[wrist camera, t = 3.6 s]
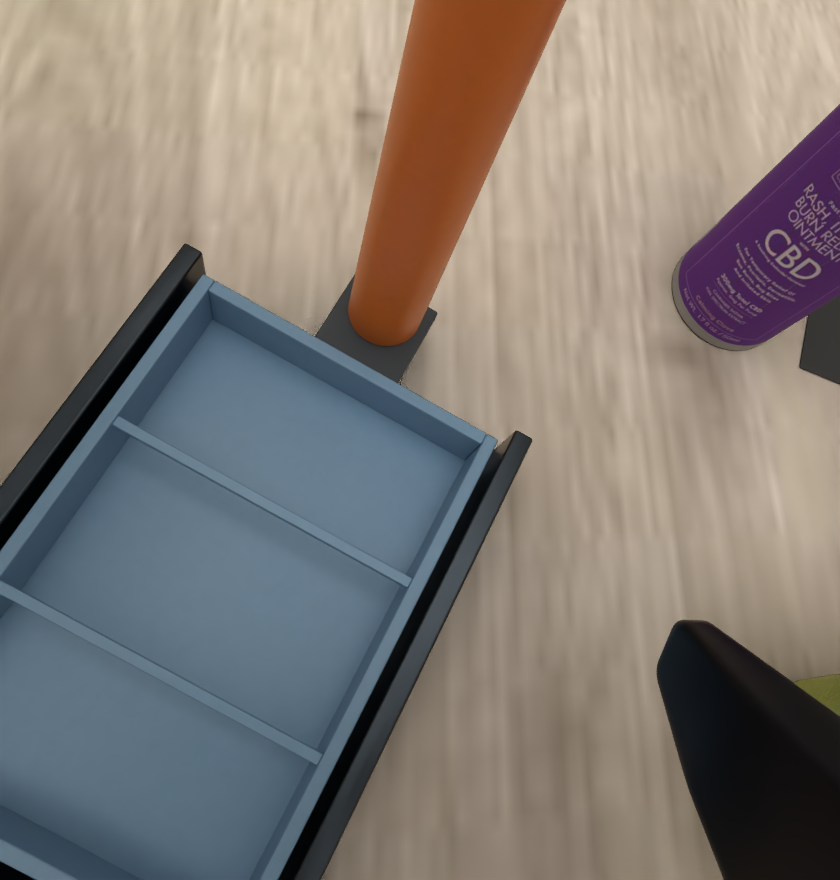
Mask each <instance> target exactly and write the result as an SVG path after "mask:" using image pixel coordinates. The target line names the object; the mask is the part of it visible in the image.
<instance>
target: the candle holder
mask: <svg viewBox="0 0 840 880" xmlns="http://www.w3.org/2000/svg"><path fill="white" fill-rule="evenodd" d="M800 368H802V369H805V370H807V371H810V372H812V373H814V374H817V375H819V376H822V377H824V378H826V379H829V380H831V381H834V382H836V383H838V384H840V295H839V296H837V297H836V298H834V299H832V300H831V301H829V302H828V303H826V304H824V305H823V306H821V307H820V308H818V309H816V310H815V311H813V312H812V313H810V314H809V317H808V322H807V328H806V334H805V340H804V346H803V352H802V358H801V364H800Z"/></svg>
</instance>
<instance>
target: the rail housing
mask: <svg viewBox="0 0 840 880" xmlns="http://www.w3.org/2000/svg"><path fill="white" fill-rule="evenodd" d="M203 274H204V275H206V273H205V267H204V262H203V256H202V253H201V252H200V251H198V250H197V249H195V248H193V247H191V246H190V245H188V244H184V245H183V246H182V248H181V249H180V250H179V252H178V253H177V254H176V256H175V257H174V258H173V260H172V261H171V262H170V264H169V265H168V266H167V268H166V269H165V270H164V271H163V273H162V274H161V275H160V277H159V278H158V279H157V281H156V282H155V283H154V285H153V286H152V287H151V289H150V290H149V291H148V293H147V294H146V295H145V297H144V298H143V299H142V300H141V302H140V303H139V304H138V306H137V307H136V308H135V310H134V311H133V312H132V314H131V315H130V316H129V318H128V319H127V320H126V322H125V323H124V324H123V326H122V327H121V328H120V329H119V331H118V332H117V333H116V335H115V336H114V337H113V339H112V340H111V341H110V343H109V344H108V345H107V347H106V348H105V349H104V351H103V352H102V353H101V354H100V356H99V357H98V358H97V360H96V361H95V362H94V364H93V365H92V366H91V368H90V369H89V370H88V372H87V373H86V374H85V376H84V377H83V378H82V380H81V381H80V382H79V383H78V385H77V386H76V387H75V389H74V390H73V391H72V393H71V394H70V395H69V397H68V398H67V399H66V401H65V402H64V403H63V405H62V406H61V407H60V409H59V410H58V411H57V412H56V414H55V415H54V416H53V418H52V419H51V420H50V422H49V423H48V424H47V426H46V427H45V428H44V430H43V431H42V432H41V434H40V435H39V436H38V438H37V439H36V440H35V441H34V443H33V444H32V445H31V447H30V448H29V449H28V451H27V452H26V453H25V455H24V456H23V457H22V459H21V460H20V461H19V463H18V464H17V465H16V467H15V468H14V469H13V470H12V472H11V473H10V474H9V476H8V477H7V478H6V480H5V481H4V482H3V484H2V485H1V486H0V551H1V549H2V548H3V546H4V545H5V544H6V542H7V541H8V540H9V538H10V537H11V536H12V534H13V533H14V531H15V530H16V529H17V527H18V526H19V525H20V523H21V522H22V521H23V519H24V518H25V516H26V515H27V514H28V512H29V511H30V510H31V508H32V507H33V506H34V504H35V503H36V501H37V500H38V499H39V497H40V496H41V495H42V493H43V492H44V490H45V489H46V488H47V486H48V485H49V484H50V482H51V481H52V480H53V478H54V477H55V475H56V474H57V473H58V471H59V470H60V469H61V467H62V466H63V465H64V463H65V462H66V460H67V459H68V458H69V456H70V455H71V454H72V452H73V451H74V450H75V448H76V447H77V445H78V444H79V443H80V441H81V440H82V439H83V437H84V436H85V435H86V433H87V432H88V430H89V429H90V428H91V426H92V425H93V424H94V422H95V421H96V420H97V418H98V417H99V415H100V414H101V413H102V411H103V410H104V409H105V407H106V406H107V405H108V403H109V402H110V400H111V399H112V398H113V396H114V395H115V394H116V392H117V391H118V390H119V388H120V387H121V385H122V384H123V383H124V381H125V380H126V379H127V377H128V376H129V375H130V373H131V372H132V370H133V369H134V368H135V366H136V365H137V364H138V362H139V361H140V360H141V358H142V357H143V355H144V354H145V353H146V351H147V350H148V349H149V347H150V346H151V345H152V343H153V342H154V340H155V339H156V338H157V336H158V335H159V334H160V332H161V331H162V330H163V328H164V327H165V325H166V324H167V323H168V321H169V320H170V319H171V317H172V316H173V315H174V313H175V312H176V310H177V309H178V308H179V306H180V305H181V304H182V302H183V301H184V300H185V298H186V297H187V295H188V294H189V293H190V291H191V290H192V289H193V287H194V286H195V285H196V283H197V282H198V280H199V279H200V278H201V276H202V275H203ZM531 443H532V439H531V438H530V437H528V436H526V435H524V434H523V433H521V432H519V431H515V432H514V433H513V434H511V435H510V436H509V437H508V438H507V439H506V440H505V441H504V442H503V443H502V444H500V445H499V446H498V447H497V448H496V449H494V450H493V452H492V454H491V456H490V458H489V460H488V462H487V464H486V466H485V468H484V470H483V472H482V474H481V476H480V478H479V480H478V482H477V484H476V486H475V488H474V490H473V492H472V494H471V496H470V498H469V500H468V502H467V504H466V506H465V508H464V510H463V512H462V514H461V516H460V518H459V519H458V521H457V523H456V525H455V527H454V529H453V531H452V533H451V535H450V537H449V539H448V541H447V543H446V545H445V547H444V549H443V551H442V553H441V555H440V557H439V559H438V561H437V563H436V565H435V567H434V569H433V571H432V573H431V575H430V577H429V579H428V581H427V583H426V585H425V587H424V589H423V591H422V593H421V595H420V597H419V599H418V601H417V603H416V605H415V607H414V609H413V611H412V613H411V615H410V617H409V619H408V621H407V623H406V625H405V627H404V629H403V631H402V633H401V635H400V637H399V639H398V641H397V643H396V645H395V647H394V649H393V651H392V653H391V655H390V657H389V659H388V661H387V663H386V665H385V667H384V669H383V671H382V673H381V675H380V677H379V679H378V681H377V683H376V685H375V687H374V689H373V691H372V693H371V695H370V697H369V699H368V701H367V703H366V705H365V707H364V709H363V711H362V713H361V715H360V717H359V719H358V721H357V723H356V725H355V727H354V729H353V731H352V733H351V735H350V737H349V739H348V741H347V743H346V745H345V747H344V749H343V751H342V753H341V755H340V757H339V759H338V761H337V763H336V765H335V767H334V769H333V771H332V773H331V775H330V777H329V779H328V781H327V783H326V785H325V787H324V789H323V791H322V793H321V795H320V797H319V799H318V801H317V803H316V805H315V807H314V809H313V811H312V813H311V815H310V817H309V819H308V821H307V823H306V825H305V827H304V829H303V831H302V833H301V835H300V837H299V839H298V841H297V843H296V845H295V847H294V849H293V851H292V853H291V855H290V857H289V859H288V861H287V863H286V865H285V867H284V869H283V871H282V873H281V875H280V877H279V879H278V880H321V878H322V876H323V874H324V872H325V870H326V868H327V866H328V864H329V862H330V859H331V857H332V855H333V853H334V851H335V849H336V847H337V845H338V843H339V841H340V839H341V837H342V835H343V833H344V830H345V828H346V826H347V824H348V822H349V820H350V818H351V816H352V814H353V812H354V810H355V808H356V806H357V803H358V801H359V799H360V797H361V795H362V793H363V791H364V789H365V787H366V785H367V783H368V781H369V779H370V777H371V774H372V772H373V770H374V768H375V766H376V764H377V762H378V760H379V758H380V756H381V754H382V752H383V750H384V747H385V745H386V743H387V741H388V739H389V737H390V735H391V733H392V731H393V729H394V727H395V725H396V723H397V720H398V718H399V716H400V714H401V712H402V710H403V708H404V706H405V704H406V702H407V700H408V698H409V696H410V694H411V691H412V689H413V687H414V685H415V683H416V681H417V679H418V677H419V675H420V673H421V671H422V669H423V667H424V664H425V662H426V660H427V658H428V656H429V654H430V652H431V650H432V648H433V646H434V644H435V642H436V640H437V638H438V635H439V633H440V631H441V629H442V627H443V625H444V623H445V621H446V619H447V617H448V615H449V613H450V611H451V608H452V606H453V604H454V602H455V600H456V598H457V596H458V594H459V592H460V590H461V588H462V586H463V584H464V582H465V579H466V577H467V575H468V573H469V571H470V569H471V567H472V565H473V563H474V561H475V559H476V557H477V555H478V552H479V550H480V548H481V546H482V544H483V542H484V540H485V538H486V536H487V534H488V532H489V530H490V528H491V525H492V523H493V521H494V519H495V517H496V515H497V513H498V511H499V509H500V507H501V505H502V503H503V501H504V499H505V496H506V494H507V492H508V490H509V488H510V486H511V484H512V482H513V480H514V478H515V476H516V474H517V472H518V469H519V467H520V465H521V463H522V461H523V459H524V457H525V455H526V453H527V451H528V449H529V447H530V445H531ZM0 880H35V879H33V878H31V877H29V876H28V875H26V874H24V873H22V872H20V871H18V870H16V869H14V868H12V867H10V866H8V865H7V864H5V863H3V862H1V861H0Z"/></svg>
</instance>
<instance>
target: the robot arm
mask: <svg viewBox="0 0 840 880" xmlns="http://www.w3.org/2000/svg"><path fill="white" fill-rule="evenodd" d="M657 680H658V684H659V688H660V691H661V695H662V699H663V702H664V706H665V709H666V713H667V716H668V720H669V723H670V727H671V730H672V734H673V738H674V741H675V745H676V748H677V752H678V755H679V759H680V762H681V766H682V769H683V773H684V776H685V779H686V782H687V785H688V788H689V791H690V794H691V797H692V799H693V802H694V805H695V807H696V810H697V812H698V815H699V818H700V820H701V823H702V825H703V828H704V830H705V833H706V835H707V838H708V840H709V843H710V846H711V848H712V851H713V853H714V856H715V858H716V861H717V863H718V866H719V868H720V871H721V874H722V876H723V879H724V880H840V716H839V715H837V714H836V713H835V712H833V711H832V710H830V709H829V708H828V707H826V706H825V705H823V704H822V703H821V702H819V701H818V700H817V699H815V698H814V697H812V696H811V695H810V694H808V693H807V692H805V691H804V690H803V689H801V688H800V687H799V686H797V685H796V684H794V683H793V682H792V681H790V680H789V679H787V678H786V677H785V676H783V675H782V674H781V673H779V672H778V671H776V670H775V669H774V668H772V667H771V666H769V665H768V664H767V663H765V662H764V661H763V660H761V659H760V658H758V657H757V656H756V655H754V654H753V653H751V652H750V651H749V650H747V649H746V648H744V647H743V646H742V645H740V644H739V643H738V642H736V641H735V640H733V639H732V638H731V637H729V636H728V635H726V634H725V633H724V632H722V631H721V630H720V629H718V628H717V627H715V626H714V625H713V624H711V623H709V622H707V621H701V620H680V621H678V622H677V623H676V624H675V625H674V626H673V628H672V630H671V632H670V635H669V637H668V639H667V642H666V644H665V647H664V649H663V651H662V654H661V656H660V658H659V661H658V664H657Z"/></svg>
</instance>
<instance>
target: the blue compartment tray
mask: <svg viewBox="0 0 840 880" xmlns="http://www.w3.org/2000/svg"><path fill="white" fill-rule="evenodd" d="M565 2H566V0H415V2H414V7H413V11H412V16H411V21H410V25H409V30H408V34H407V39H406V43H405V48H404V53H403V57H402V62H401V66H400V71H399V76H398V80H397V85H396V89H395V94H394V98H393V103H392V108H391V112H390V117H389V121H388V126H387V131H386V135H385V140H384V144H383V149H382V153H381V158H380V163H379V167H378V172H377V176H376V181H375V186H374V190H373V195H372V199H371V204H370V209H369V213H368V218H367V222H366V227H365V231H364V236H363V241H362V245H361V250H360V254H359V259H358V264H357V268H356V273H355V275H354V276H353V278H352V280H351V281H350V283H349V284H348V286H347V287H346V289H345V291H344V292H343V294H342V295H341V297H340V298H339V300H338V301H337V303H336V305H335V306H334V308H333V309H332V311H331V312H330V314H329V316H328V317H327V319H326V320H325V322H324V323H323V325H322V326H321V328H320V330H319V331H318V333H317V334H316V336H315V337H314V336H312V335H311V334H309V333H307V332H305V331H304V330H302V329H300V328H298V327H297V326H295V325H293V324H291V323H289V322H288V321H286V320H284V319H282V318H281V317H279V316H277V315H275V314H273V313H272V312H270V311H268V310H266V309H265V308H263V307H261V306H259V305H257V304H256V303H254V302H252V301H250V300H249V299H247V298H245V297H243V296H241V295H240V294H238V293H236V292H234V291H233V290H231V289H229V288H227V287H226V286H224V285H222V284H220V283H218V282H217V281H214V280H213V279H211V278H210V277H208V276H206V275H204V274H203V275H202V276H201V278H200V279H199V280H198V282H197V283H196V285H195V286H194V287H193V289H192V290H191V291H190V293H189V294H188V295H187V297H186V298H185V300H184V301H183V302H182V304H181V305H180V306H179V308H178V309H177V310H176V312H175V313H174V315H173V316H172V317H171V319H170V320H169V321H168V323H167V324H166V325H165V327H164V328H163V330H162V331H161V332H160V334H159V335H158V336H157V338H156V339H155V340H154V342H153V343H152V345H151V346H150V347H149V349H148V350H147V351H146V353H145V354H144V355H143V357H142V358H141V360H140V361H139V362H138V364H137V365H136V366H135V368H134V369H133V370H132V372H131V373H130V375H129V376H128V377H127V379H126V380H125V381H124V383H123V384H122V385H121V387H120V388H119V390H118V391H117V392H116V394H115V395H114V396H113V398H112V399H111V400H110V402H109V403H108V405H107V406H106V407H105V409H104V410H103V411H102V413H101V414H100V415H99V417H98V418H97V420H96V421H95V422H94V424H93V425H92V426H91V428H90V429H89V430H88V432H87V433H86V435H85V436H84V437H83V439H82V440H81V441H80V443H79V444H78V445H77V447H76V448H75V450H74V451H73V452H72V454H71V455H70V456H69V458H68V459H67V460H66V462H65V463H64V465H63V466H62V467H61V469H60V470H59V471H58V473H57V474H56V475H55V477H54V478H53V480H52V481H51V482H50V484H49V485H48V486H47V488H46V489H45V490H44V492H43V493H42V495H41V496H40V497H39V499H38V500H37V501H36V503H35V504H34V506H33V507H32V508H31V510H30V511H29V512H28V514H27V515H26V516H25V518H24V519H23V521H22V522H21V523H20V525H19V526H18V527H17V529H16V530H15V531H14V533H13V534H12V536H11V537H10V538H9V540H8V541H7V542H6V544H5V545H4V546H3V548H2V549H1V551H0V861H1V862H3V863H5V864H7V865H8V866H10V867H12V868H14V869H16V870H18V871H20V872H22V873H24V874H26V875H28V876H29V877H31V878H33V879H35V880H278V879H279V877H280V875H281V873H282V871H283V869H284V867H285V865H286V863H287V861H288V859H289V857H290V855H291V853H292V851H293V849H294V847H295V845H296V843H297V841H298V839H299V837H300V835H301V833H302V831H303V829H304V827H305V825H306V823H307V821H308V819H309V817H310V815H311V813H312V811H313V809H314V807H315V805H316V803H317V801H318V799H319V797H320V795H321V793H322V791H323V789H324V787H325V785H326V783H327V781H328V779H329V777H330V775H331V773H332V771H333V769H334V767H335V765H336V763H337V761H338V759H339V757H340V755H341V753H342V751H343V749H344V747H345V745H346V743H347V741H348V739H349V737H350V735H351V733H352V731H353V729H354V727H355V725H356V723H357V721H358V719H359V717H360V715H361V713H362V711H363V709H364V707H365V705H366V703H367V701H368V699H369V697H370V695H371V693H372V691H373V689H374V687H375V685H376V683H377V681H378V679H379V677H380V675H381V673H382V671H383V669H384V667H385V665H386V663H387V661H388V659H389V657H390V655H391V653H392V651H393V649H394V647H395V645H396V643H397V641H398V639H399V637H400V635H401V633H402V631H403V629H404V627H405V625H406V623H407V621H408V619H409V617H410V615H411V613H412V611H413V609H414V607H415V605H416V603H417V601H418V599H419V597H420V595H421V593H422V591H423V589H424V587H425V585H426V583H427V581H428V579H429V577H430V575H431V573H432V571H433V569H434V567H435V565H436V563H437V561H438V559H439V557H440V555H441V553H442V551H443V549H444V547H445V545H446V543H447V541H448V539H449V537H450V535H451V533H452V531H453V529H454V527H455V525H456V523H457V521H458V519H459V518H460V516H461V514H462V512H463V510H464V508H465V506H466V504H467V502H468V500H469V498H470V496H471V494H472V492H473V490H474V488H475V486H476V484H477V482H478V480H479V478H480V476H481V474H482V472H483V470H484V468H485V466H486V464H487V462H488V460H489V458H490V456H491V454H492V452H493V450H494V448H495V446H496V444H497V442H498V440H497V439H495V438H494V437H492V436H490V435H488V434H487V435H486V433H485V432H483V431H481V430H479V429H478V428H476V427H474V426H472V425H470V424H469V423H467V422H465V421H463V420H462V419H460V418H458V417H456V416H455V415H453V414H451V413H449V412H447V411H446V410H444V409H442V408H440V407H439V406H437V405H435V404H433V403H431V402H430V401H428V400H426V399H424V398H423V397H421V396H419V395H417V394H415V393H414V392H412V391H410V390H408V389H407V388H405V387H403V386H401V385H399V384H398V383H399V381H400V379H401V377H402V376H403V374H404V372H405V370H406V369H407V367H408V365H409V363H410V362H411V360H412V358H413V356H414V355H415V353H416V351H417V350H418V348H419V346H420V344H421V343H422V341H423V339H424V337H425V336H426V334H427V332H428V330H429V329H430V327H431V325H432V323H433V322H434V320H435V318H436V316H437V312H436V311H434V310H432V309H431V308H429V307H428V306H429V303H430V301H431V299H432V297H433V294H434V292H435V290H436V288H437V286H438V283H439V281H440V279H441V277H442V275H443V272H444V270H445V268H446V266H447V263H448V261H449V259H450V257H451V255H452V252H453V250H454V248H455V246H456V243H457V241H458V239H459V237H460V235H461V232H462V230H463V228H464V226H465V223H466V221H467V219H468V217H469V215H470V212H471V210H472V208H473V206H474V204H475V201H476V199H477V197H478V195H479V192H480V190H481V188H482V186H483V184H484V181H485V179H486V177H487V175H488V172H489V170H490V168H491V166H492V164H493V161H494V159H495V157H496V155H497V152H498V150H499V148H500V146H501V144H502V141H503V139H504V137H505V135H506V133H507V130H508V128H509V126H510V124H511V121H512V119H513V117H514V115H515V113H516V110H517V108H518V106H519V104H520V101H521V99H522V97H523V95H524V93H525V90H526V88H527V86H528V84H529V81H530V79H531V77H532V75H533V73H534V70H535V68H536V66H537V64H538V62H539V59H540V57H541V55H542V53H543V50H544V48H545V46H546V44H547V42H548V39H549V37H550V35H551V33H552V30H553V28H554V26H555V24H556V22H557V19H558V17H559V15H560V13H561V10H562V8H563V6H564V4H565Z"/></svg>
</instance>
